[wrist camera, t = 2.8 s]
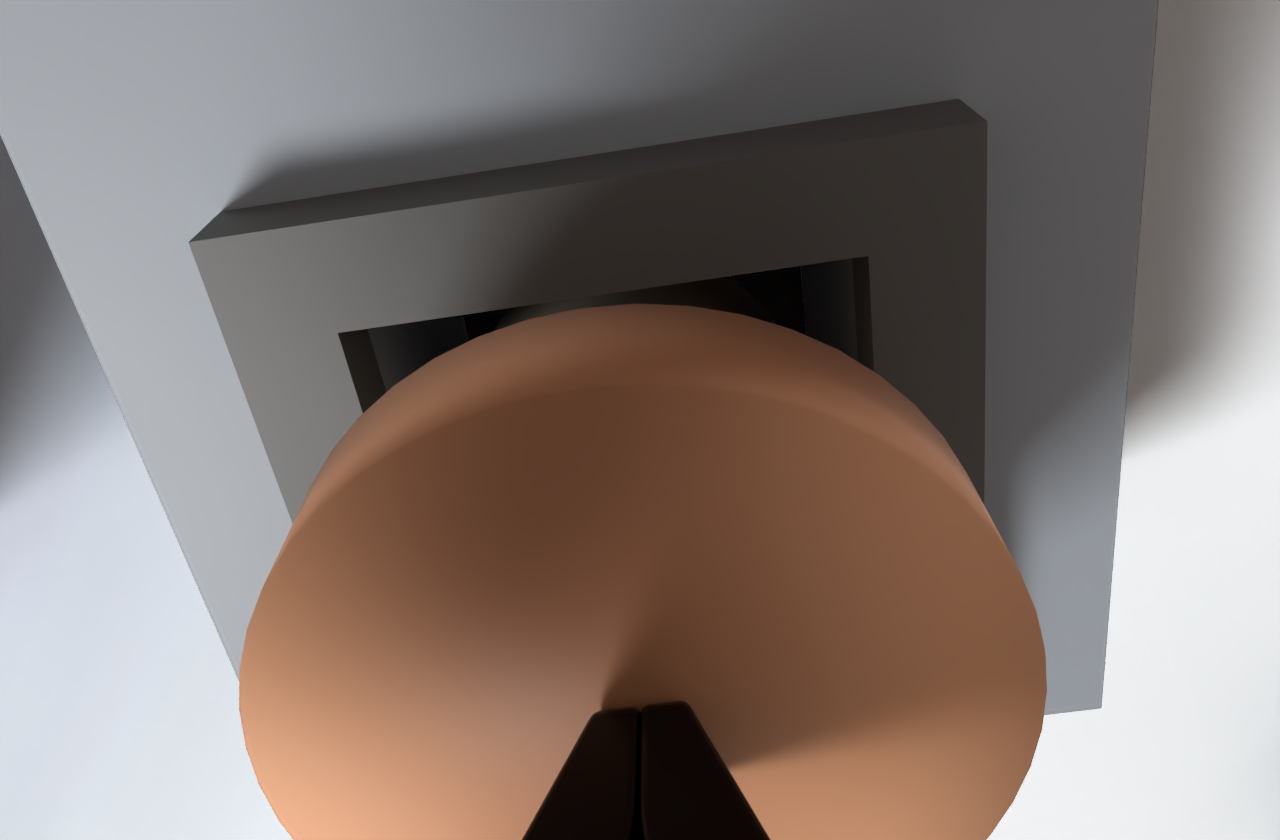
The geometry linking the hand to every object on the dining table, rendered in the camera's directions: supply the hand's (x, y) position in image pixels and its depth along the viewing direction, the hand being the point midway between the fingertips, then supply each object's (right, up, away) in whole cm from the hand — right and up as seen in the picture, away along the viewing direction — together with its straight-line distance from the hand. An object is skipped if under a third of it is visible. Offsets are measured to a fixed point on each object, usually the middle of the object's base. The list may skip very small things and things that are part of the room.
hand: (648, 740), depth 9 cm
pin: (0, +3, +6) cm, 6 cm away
